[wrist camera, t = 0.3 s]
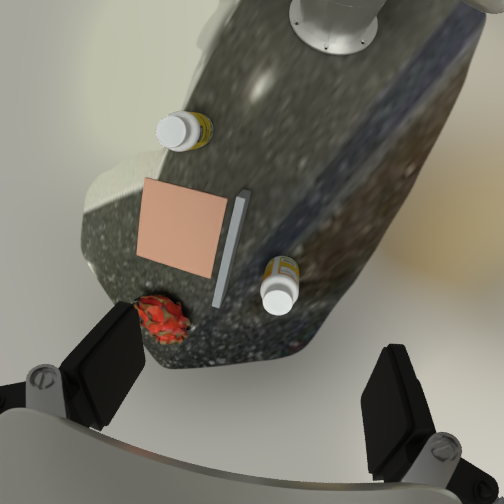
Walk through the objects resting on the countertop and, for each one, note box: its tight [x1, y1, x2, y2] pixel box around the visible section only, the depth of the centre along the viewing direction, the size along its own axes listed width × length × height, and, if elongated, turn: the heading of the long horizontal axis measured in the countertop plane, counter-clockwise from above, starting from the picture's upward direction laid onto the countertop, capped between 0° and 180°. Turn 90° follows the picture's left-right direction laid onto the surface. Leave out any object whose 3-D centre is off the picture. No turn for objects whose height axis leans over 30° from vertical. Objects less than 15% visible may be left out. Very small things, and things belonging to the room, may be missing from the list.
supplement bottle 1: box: [156, 111, 213, 152], centre depth 37 cm, size 5×5×10 cm
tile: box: [137, 178, 228, 278], centre depth 48 cm, size 14×14×1 cm
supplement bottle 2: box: [260, 256, 299, 315], centre depth 44 cm, size 5×5×10 cm
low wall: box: [212, 189, 251, 308], centre depth 46 cm, size 18×1×5 cm, turn 166°
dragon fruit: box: [133, 294, 191, 345], centre depth 52 cm, size 8×8×12 cm
